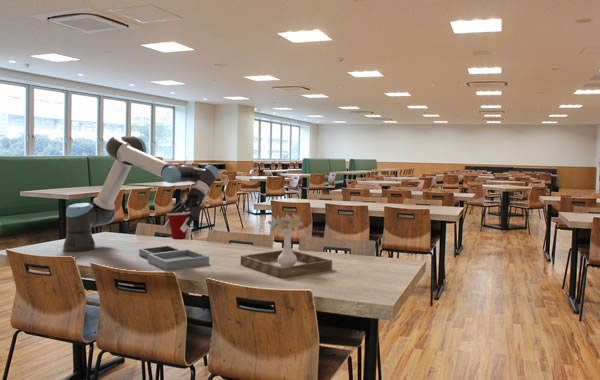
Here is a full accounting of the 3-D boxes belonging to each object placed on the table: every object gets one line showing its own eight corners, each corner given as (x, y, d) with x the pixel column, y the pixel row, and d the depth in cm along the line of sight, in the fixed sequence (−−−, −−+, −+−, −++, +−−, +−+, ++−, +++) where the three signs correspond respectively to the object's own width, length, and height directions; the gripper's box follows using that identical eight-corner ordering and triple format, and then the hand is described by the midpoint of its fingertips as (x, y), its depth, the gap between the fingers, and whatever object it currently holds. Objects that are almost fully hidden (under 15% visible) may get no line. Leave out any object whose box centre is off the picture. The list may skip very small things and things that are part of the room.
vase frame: (240, 264, 224) (240, 255, 223) (288, 257, 241) (288, 249, 240) (281, 278, 199) (282, 268, 199) (331, 269, 216) (332, 260, 216)
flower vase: (276, 262, 230) (276, 211, 228) (309, 266, 221) (310, 214, 219) (261, 267, 219) (261, 214, 217) (295, 272, 210) (296, 216, 209)
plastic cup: (183, 235, 232) (183, 210, 231) (195, 238, 224) (195, 212, 224) (162, 238, 225) (162, 212, 224) (174, 241, 217) (174, 214, 216)
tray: (148, 261, 227) (148, 254, 227) (188, 256, 240) (188, 249, 239) (166, 270, 211) (166, 262, 211) (209, 264, 224) (209, 256, 223)
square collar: (139, 254, 242) (139, 248, 242) (168, 251, 252) (168, 245, 251) (151, 260, 230) (151, 254, 230) (182, 256, 240) (182, 250, 239)
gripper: (219, 198, 231) (196, 236, 218) (184, 196, 242) (160, 232, 230) (212, 188, 226) (187, 226, 213) (176, 186, 237) (151, 222, 225)
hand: (173, 229), depth 221 cm, fingers closed on plastic cup, 10 cm apart
